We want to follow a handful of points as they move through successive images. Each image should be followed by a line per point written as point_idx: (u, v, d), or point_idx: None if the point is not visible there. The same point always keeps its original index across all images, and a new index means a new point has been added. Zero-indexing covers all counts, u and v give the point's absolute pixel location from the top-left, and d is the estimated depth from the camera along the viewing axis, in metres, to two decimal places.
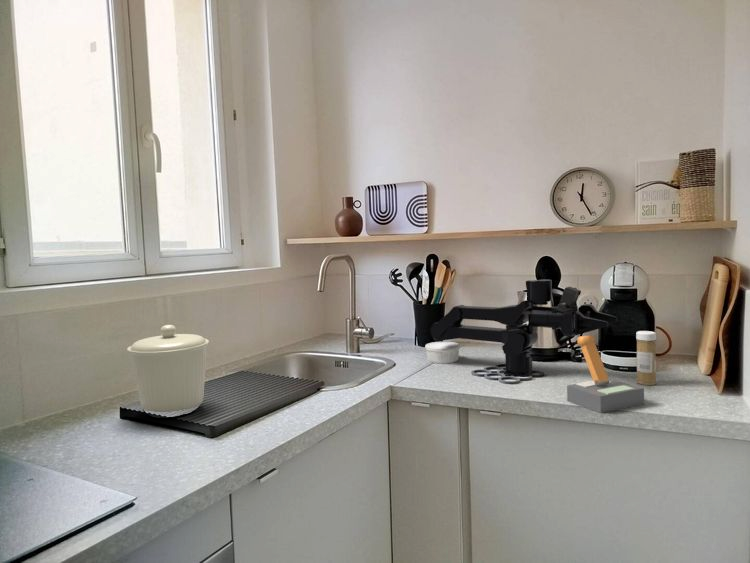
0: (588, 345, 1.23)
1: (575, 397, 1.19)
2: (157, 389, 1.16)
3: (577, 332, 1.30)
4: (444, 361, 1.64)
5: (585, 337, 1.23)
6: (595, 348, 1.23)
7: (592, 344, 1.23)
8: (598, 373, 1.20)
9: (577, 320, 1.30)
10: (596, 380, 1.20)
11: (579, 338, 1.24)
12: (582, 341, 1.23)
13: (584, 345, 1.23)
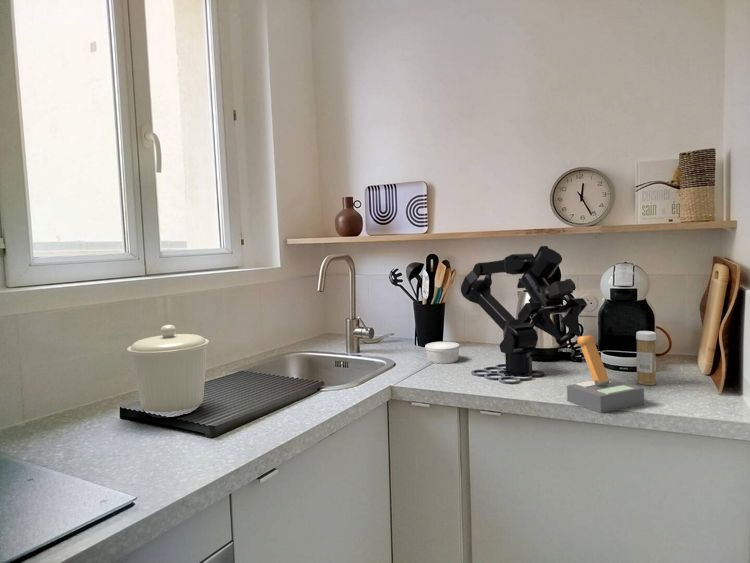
0: (588, 345, 1.23)
1: (575, 397, 1.19)
2: (157, 389, 1.16)
3: (533, 324, 1.32)
4: (444, 361, 1.64)
5: (585, 337, 1.23)
6: (595, 348, 1.23)
7: (592, 344, 1.23)
8: (598, 373, 1.20)
9: (539, 316, 1.30)
10: (596, 380, 1.20)
11: (579, 338, 1.24)
12: (582, 341, 1.23)
13: (584, 345, 1.23)
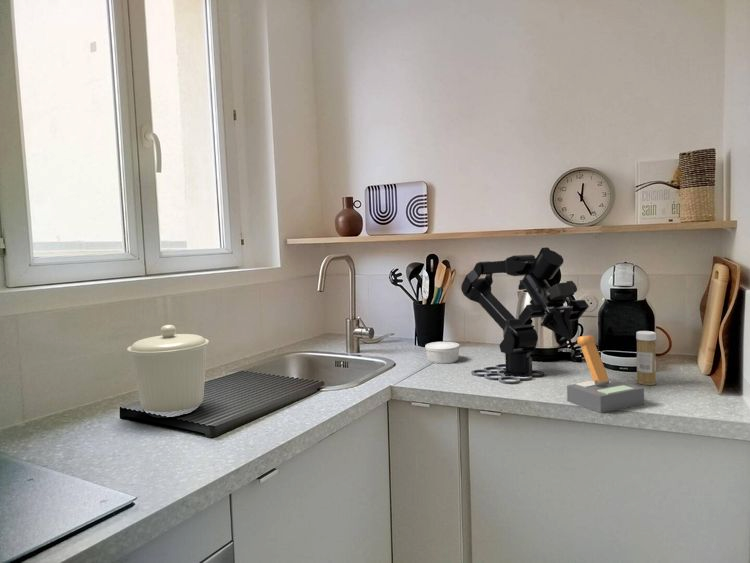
0: (588, 345, 1.23)
1: (575, 397, 1.19)
2: (157, 389, 1.16)
3: (543, 324, 1.33)
4: (444, 361, 1.64)
5: (585, 337, 1.23)
6: (595, 348, 1.23)
7: (592, 344, 1.23)
8: (598, 373, 1.20)
9: (549, 317, 1.31)
10: (596, 380, 1.20)
11: (579, 338, 1.24)
12: (582, 341, 1.23)
13: (584, 345, 1.23)
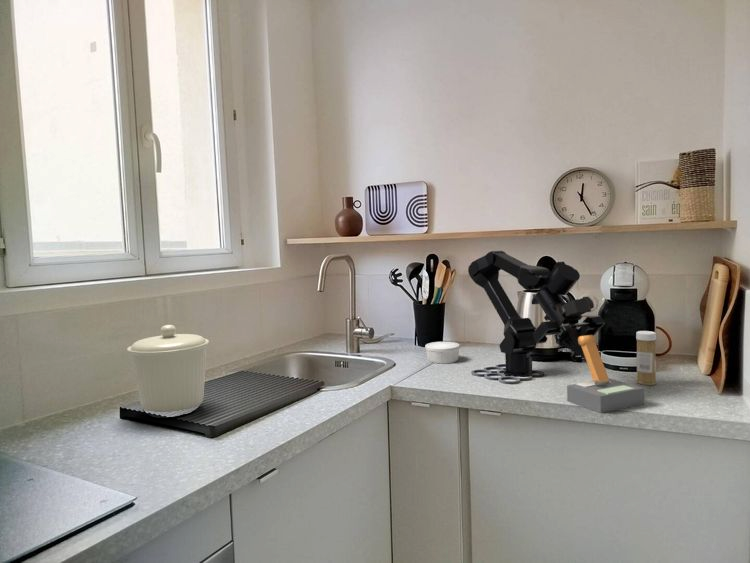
0: (589, 345, 1.22)
1: (575, 397, 1.19)
2: (157, 389, 1.16)
3: (559, 342, 1.28)
4: (444, 361, 1.64)
5: (586, 337, 1.23)
6: (596, 348, 1.23)
7: (593, 344, 1.23)
8: (598, 373, 1.20)
9: (565, 334, 1.26)
10: (596, 380, 1.20)
11: (579, 337, 1.24)
12: (583, 341, 1.23)
13: (585, 345, 1.22)
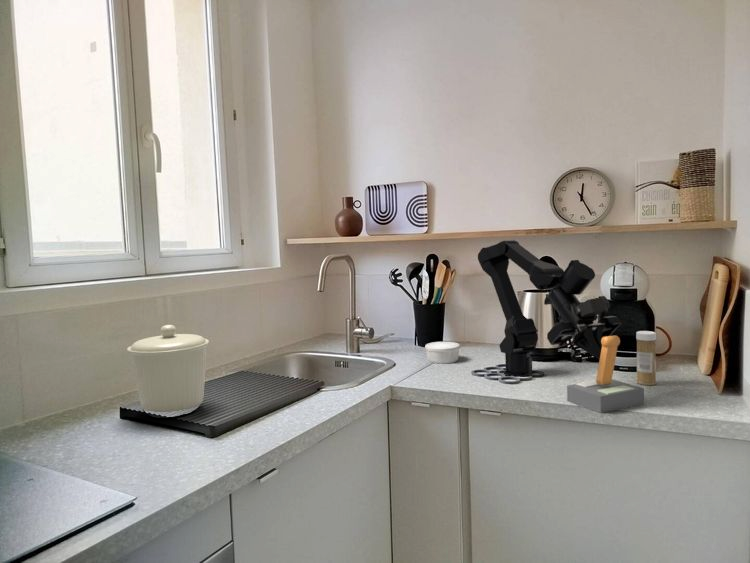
0: (610, 348, 1.17)
1: (575, 397, 1.19)
2: (157, 389, 1.16)
3: (574, 343, 1.24)
4: (444, 361, 1.64)
5: (611, 340, 1.16)
6: (615, 351, 1.18)
7: (614, 347, 1.17)
8: (604, 376, 1.18)
9: (580, 335, 1.22)
10: (599, 381, 1.19)
11: (605, 337, 1.17)
12: (606, 343, 1.16)
13: (606, 347, 1.17)
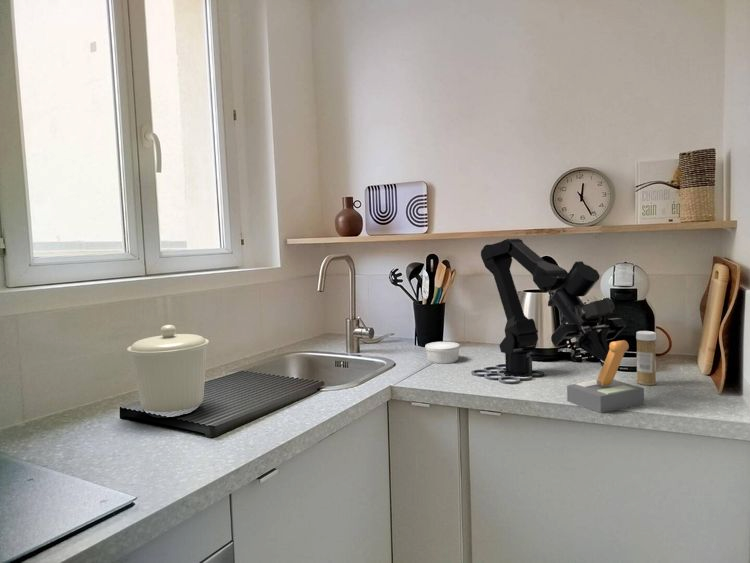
0: (617, 353, 1.15)
1: (575, 397, 1.19)
2: (157, 389, 1.16)
3: (578, 345, 1.22)
4: (444, 361, 1.64)
5: (620, 347, 1.14)
6: (621, 356, 1.16)
7: (621, 352, 1.15)
8: (606, 378, 1.18)
9: (585, 338, 1.20)
10: (600, 381, 1.19)
11: (614, 343, 1.14)
12: (614, 348, 1.14)
13: (613, 352, 1.15)
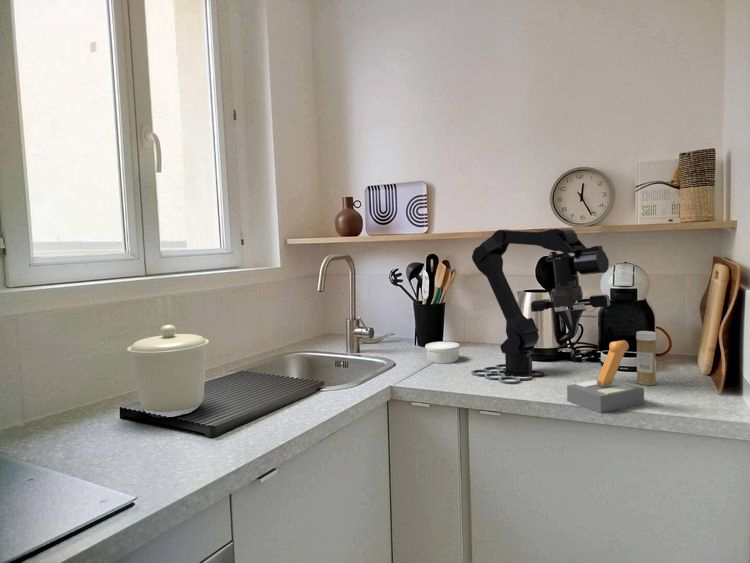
0: (617, 353, 1.15)
1: (575, 397, 1.19)
2: (157, 389, 1.16)
3: None
4: (444, 361, 1.64)
5: (620, 347, 1.14)
6: (621, 356, 1.16)
7: (621, 352, 1.15)
8: (606, 378, 1.18)
9: None
10: (600, 381, 1.19)
11: (614, 343, 1.14)
12: (614, 348, 1.14)
13: (613, 352, 1.15)
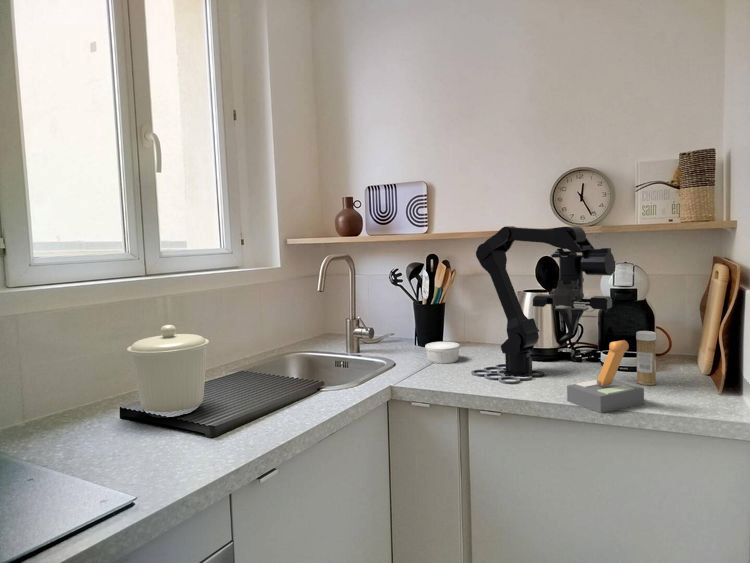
0: (617, 353, 1.15)
1: (575, 397, 1.19)
2: (157, 389, 1.16)
3: None
4: (444, 361, 1.64)
5: (620, 347, 1.14)
6: (621, 356, 1.16)
7: (621, 352, 1.15)
8: (606, 378, 1.18)
9: None
10: (600, 381, 1.19)
11: (614, 343, 1.14)
12: (614, 348, 1.14)
13: (613, 352, 1.15)
